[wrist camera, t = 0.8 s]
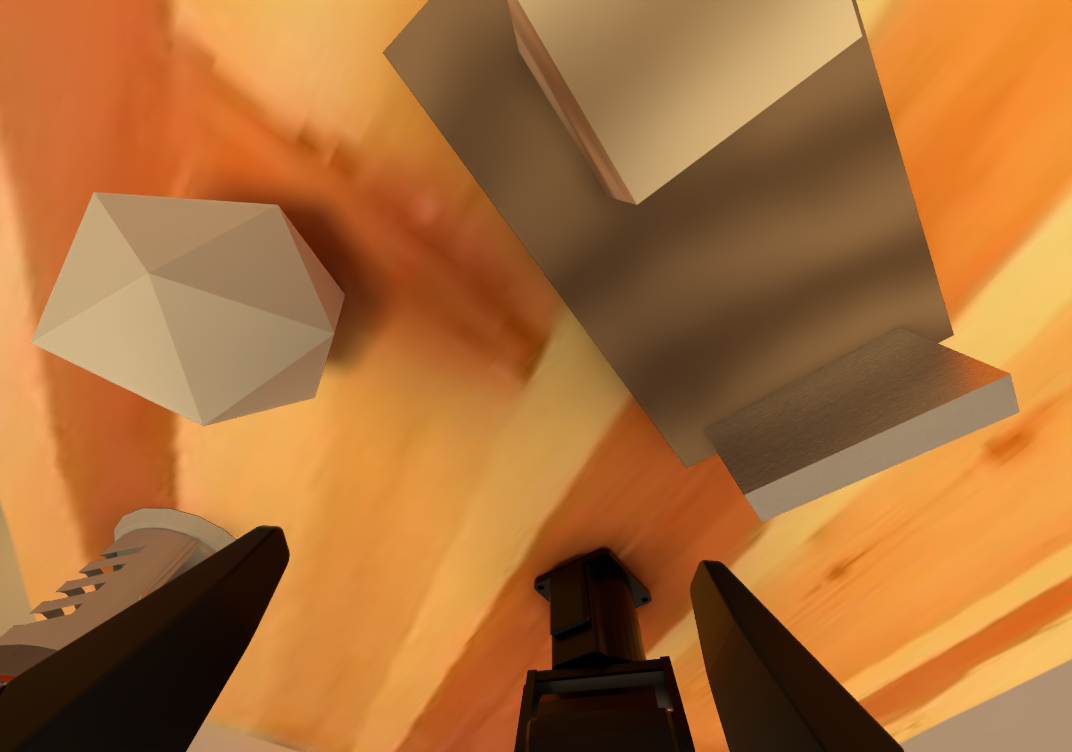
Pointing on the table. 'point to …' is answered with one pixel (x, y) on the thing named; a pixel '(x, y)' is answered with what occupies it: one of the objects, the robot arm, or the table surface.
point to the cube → (670, 73)
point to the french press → (114, 582)
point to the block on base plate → (729, 266)
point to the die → (194, 304)
